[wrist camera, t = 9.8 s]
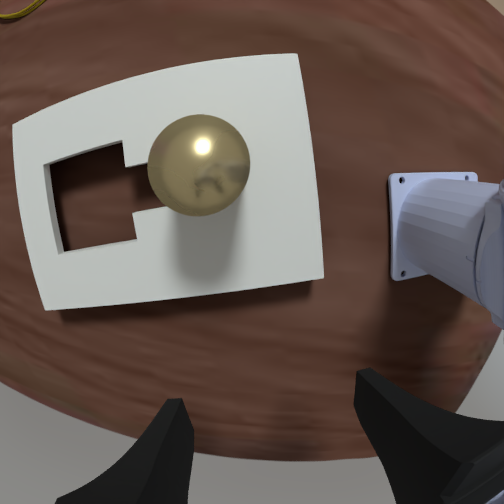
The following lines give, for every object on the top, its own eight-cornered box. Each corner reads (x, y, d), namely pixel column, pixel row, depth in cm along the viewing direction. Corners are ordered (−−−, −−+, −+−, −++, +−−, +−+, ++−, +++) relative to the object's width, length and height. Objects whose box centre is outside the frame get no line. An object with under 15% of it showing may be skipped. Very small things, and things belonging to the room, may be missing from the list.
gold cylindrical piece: (246, 135, 18) (254, 107, 10) (248, 202, 19) (256, 219, 11) (178, 138, 18) (142, 115, 10) (180, 205, 19) (145, 224, 11)
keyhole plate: (290, 66, 17) (297, 53, 15) (314, 266, 20) (323, 278, 18) (30, 127, 16) (12, 124, 14) (60, 298, 20) (45, 310, 18)
